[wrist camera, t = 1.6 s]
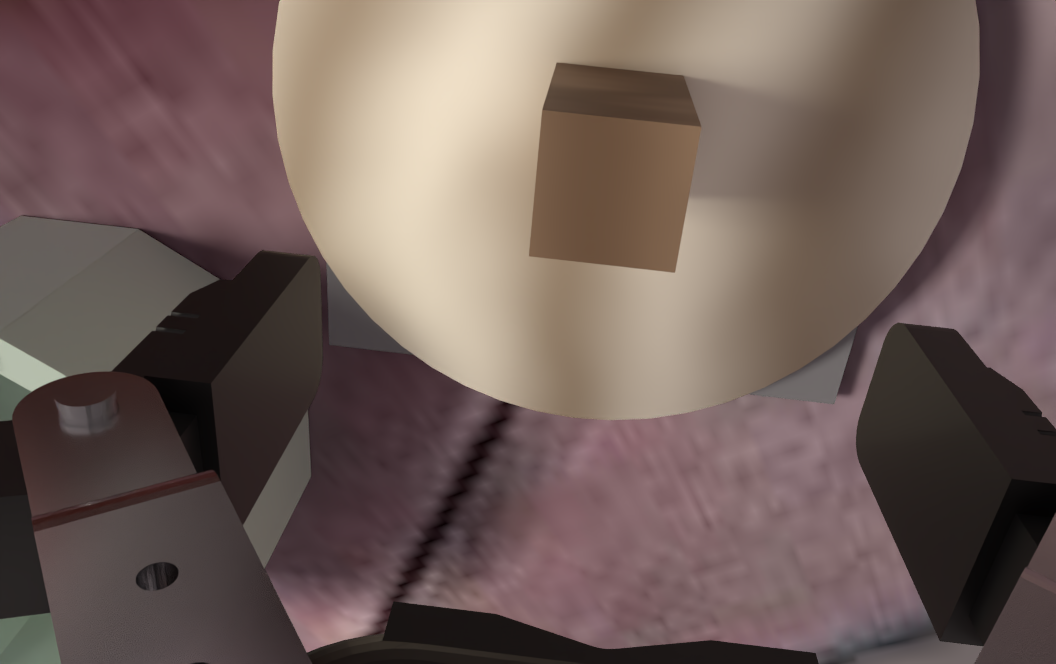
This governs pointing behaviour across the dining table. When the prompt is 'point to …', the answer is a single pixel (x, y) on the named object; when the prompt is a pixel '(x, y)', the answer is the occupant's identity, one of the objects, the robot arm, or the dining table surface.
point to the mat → (804, 384)
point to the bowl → (102, 352)
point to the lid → (622, 181)
